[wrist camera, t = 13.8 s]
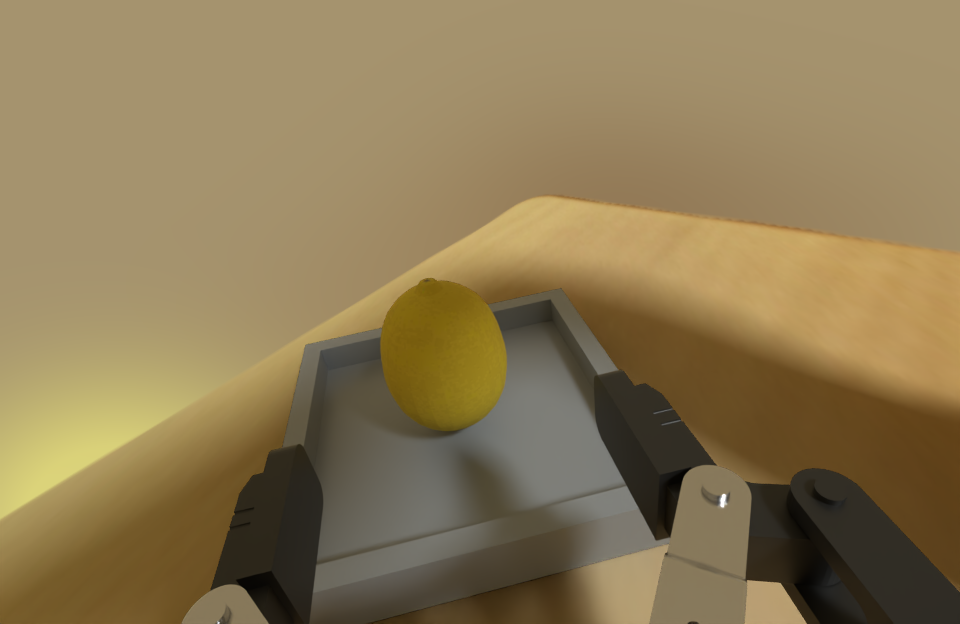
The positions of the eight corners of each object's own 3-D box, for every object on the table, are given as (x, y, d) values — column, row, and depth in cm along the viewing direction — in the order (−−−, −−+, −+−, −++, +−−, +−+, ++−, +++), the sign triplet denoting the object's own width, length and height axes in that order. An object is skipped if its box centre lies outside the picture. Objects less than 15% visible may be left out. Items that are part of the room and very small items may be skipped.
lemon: (529, 393, 26) (511, 252, 21) (493, 479, 21) (462, 323, 17) (433, 380, 28) (400, 249, 24) (383, 456, 23) (331, 311, 19)
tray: (563, 321, 33) (561, 288, 31) (698, 535, 19) (703, 492, 18) (318, 377, 31) (305, 344, 30) (272, 648, 18) (245, 610, 16)
